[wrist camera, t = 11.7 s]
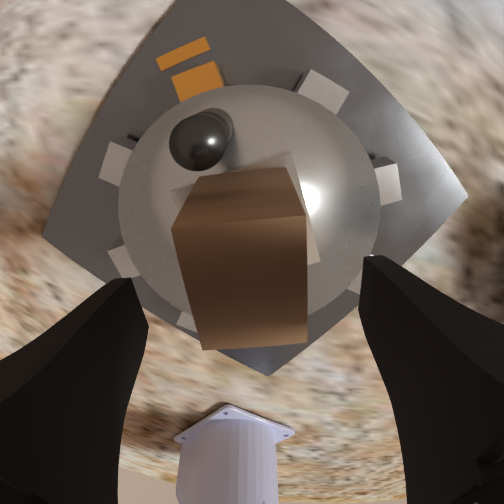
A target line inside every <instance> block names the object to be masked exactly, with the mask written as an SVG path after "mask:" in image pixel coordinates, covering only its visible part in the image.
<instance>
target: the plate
mask: <svg viewBox="0 0 504 504" xmlns="http://www.w3.org/2000/svg"><path fill="white" fill-rule="evenodd" d="M212 61H215V62H216V63H217V64H218V66H219V69H220V72H221V74H222V77H223V80H224V83H225V86H226V87H227V86H234V85H265V86H271V87H278V88H282V89H286V90H289V91H292V92H293V91H294V90H295V88H296V86H297V84H298V83H299V81H300V79H301V77H302V76H303V74H304V72H305V71H306V70H309V69H312V70H314V71H316V72H317V73H319V74H321V75H323V76H324V77H326V78H328V79H329V80H331V81H333V82H334V83H336V84H338V85H339V86H341V87H343V88H344V89H346V90H347V91H349V94H348V96H347V97H346V99H345V101H344V102H343V104H342V106H341V108H340V109H339V111H338V113H337V114H336V116H338V117H339V118H340V119H341V120H342V121H343V122H344V123H345V124H346V125H347V126H348V127H349V128H350V129H351V130H352V132H353V133H354V134H355V135H356V137H357V138H358V139H359V140H360V142H361V144H362V145H363V147H364V149H365V150H366V152H367V154H368V156H369V158H370V160H371V159H375V158H379V157H383V156H386V157H387V158H389V159H391V160H392V161H394V162H396V163H397V167H398V173H399V180H400V187H401V195H402V200H400V201H396V202H393V203H389V204H386V205H382V206H381V208H380V222H379V228H378V233H377V237H376V240H375V243H374V246H373V249H372V251H371V253H370V254H371V255H373V256H375V255H383V256H385V257H387V258H389V259H391V260H392V261H394V262H395V263H397V264H399V265H400V266H402V265H403V264H404V263H405V262H406V261H407V260H408V259H409V258H410V257H411V256H412V255H413V254H414V253H415V252H416V251H417V250H418V249H419V248H420V247H421V246H422V245H423V244H424V243H425V242H426V241H427V240H428V239H429V238H430V237H431V236H432V235H433V234H434V233H435V232H436V231H437V230H438V229H439V228H440V227H441V226H442V225H443V223H444V222H445V221H446V220H447V219H448V218H449V217H450V216H451V215H452V214H453V213H454V212H455V211H456V209H457V208H458V207H459V206H460V205H461V204H462V203H463V202H464V201H465V199H466V198H467V197H468V194H467V193H466V191H465V189H464V188H463V186H462V185H461V183H460V182H459V180H458V179H457V177H456V176H455V174H454V173H453V171H452V170H451V168H450V167H449V165H448V164H447V163H446V161H445V160H444V158H443V157H442V156H441V154H440V153H439V152H438V150H437V149H436V148H435V146H434V145H433V144H432V142H431V141H430V140H429V138H428V137H427V136H426V134H425V133H424V132H423V131H422V129H421V128H420V127H419V126H418V125H417V123H416V122H415V121H414V120H413V118H412V117H411V116H410V115H409V114H408V113H407V111H406V110H405V109H404V108H403V107H402V106H401V104H400V103H399V102H398V101H397V100H396V99H395V98H394V97H393V96H392V94H391V93H390V92H389V91H388V90H387V89H386V88H385V87H384V86H383V85H382V84H381V83H380V82H379V81H378V80H377V79H376V77H375V76H374V75H373V74H372V73H371V72H370V71H369V70H368V69H367V68H366V67H365V66H363V65H362V64H361V63H360V62H359V61H358V60H357V59H356V58H355V57H354V56H353V55H352V54H351V53H350V52H349V51H348V50H346V49H345V48H344V47H343V46H342V45H341V44H340V43H339V42H338V41H336V40H335V39H334V38H333V37H332V36H331V35H329V34H328V33H327V32H326V31H325V30H323V29H322V28H321V27H320V26H319V25H317V24H316V23H315V22H314V21H312V20H311V19H310V18H309V17H307V16H306V15H305V14H303V13H302V12H301V11H300V10H298V9H297V8H295V7H294V6H293V5H291V4H290V3H289V2H287V1H286V0H180V1H179V2H178V3H177V4H176V5H175V6H174V8H173V9H172V10H171V11H170V12H169V13H168V15H167V16H166V17H165V18H164V19H163V21H162V22H161V23H160V24H159V26H158V27H157V28H156V29H155V31H154V32H153V33H152V34H151V36H150V37H149V38H148V40H147V41H146V42H145V43H144V45H143V46H142V47H141V49H140V50H139V52H138V53H137V54H136V56H135V57H134V59H133V60H132V61H131V63H130V64H129V66H128V67H127V69H126V70H125V71H124V73H123V74H122V76H121V77H120V79H119V80H118V82H117V84H116V85H115V87H114V88H113V90H112V91H111V93H110V95H109V96H108V98H107V99H106V101H105V103H104V104H103V106H102V108H101V109H100V111H99V113H98V115H97V116H96V118H95V120H94V122H93V123H92V125H91V127H90V129H89V131H88V132H87V134H86V136H85V138H84V140H83V142H82V144H81V146H80V148H79V150H78V152H77V154H76V156H75V158H74V160H73V162H72V164H71V166H70V168H69V170H68V172H67V175H66V177H65V179H64V181H63V183H62V186H61V188H60V190H59V193H58V195H57V197H56V200H55V202H54V205H53V207H52V210H51V212H50V215H49V217H48V220H47V223H46V225H45V228H44V231H43V234H42V236H41V237H43V238H44V239H45V240H47V241H48V242H49V243H50V244H52V245H53V246H54V247H56V248H57V249H58V250H60V251H61V252H62V253H64V254H65V255H66V256H68V257H69V258H71V259H72V260H73V261H75V262H76V263H78V264H79V265H80V266H82V267H83V268H85V269H86V270H87V271H89V272H90V273H92V274H93V275H95V276H96V277H97V278H99V279H100V280H102V281H103V282H105V283H106V284H107V283H108V282H110V281H111V280H113V279H115V278H122V277H121V275H120V273H119V271H118V270H117V268H116V266H115V264H114V263H113V261H112V259H111V257H110V256H109V254H108V252H107V251H108V249H109V248H110V247H111V245H112V244H113V243H114V242H115V240H116V239H117V238H119V237H122V234H121V229H120V224H119V217H118V198H119V189H120V187H118V186H116V185H114V184H112V183H109V182H107V181H105V180H103V179H100V178H99V174H100V171H101V168H102V164H103V161H104V158H105V155H106V152H107V149H108V146H109V143H110V141H112V140H114V139H116V138H118V137H121V136H123V137H126V138H128V139H131V140H133V141H136V142H138V141H139V140H140V138H141V137H142V136H143V135H144V133H145V132H146V131H147V130H148V129H149V127H150V126H151V125H152V124H153V123H154V122H155V121H156V120H158V119H159V118H160V117H161V116H162V115H163V114H164V113H166V112H167V111H168V110H170V109H171V108H173V107H175V106H176V105H178V104H179V103H181V102H180V100H179V97H178V94H177V92H176V89H175V86H174V84H173V81H172V78H171V77H173V76H175V75H177V74H180V73H182V72H185V71H187V70H190V69H193V68H195V67H198V66H201V65H203V64H206V63H209V62H212ZM131 279H132V281H133V284H134V287H135V290H136V293H137V296H138V299H139V301H140V304H141V306H142V307H143V308H145V309H146V310H148V311H150V312H151V313H153V314H155V315H156V316H158V317H160V318H161V319H163V320H164V321H166V322H168V323H170V324H171V325H173V326H175V327H176V328H178V329H180V330H181V331H183V332H185V333H187V334H188V335H190V336H192V337H194V338H195V339H197V340H199V336H198V333H197V332H194V331H192V330H189V329H187V328H184V327H181V326H179V325H176V323H177V319H178V315H179V312H180V309H178V308H177V307H175V306H173V305H172V304H170V303H169V302H168V301H166V300H165V299H164V298H162V297H161V296H160V295H159V294H158V293H157V292H156V291H155V290H154V289H153V288H152V287H150V286H149V284H148V283H147V282H146V281H145V279H144V278H143V277H142V276H141V275H140V276H136V277H133V278H131ZM359 298H360V294H357V293H355V292H353V291H351V290H349V289H345V290H344V291H343V292H342V293H341V294H340V295H339V296H338V297H337V298H335V299H334V300H333V301H331V302H330V303H328V304H327V305H326V306H324V307H322V308H321V309H319V310H317V311H315V312H314V313H312V314H310V315H308V328H307V343H298V344H288V345H278V346H266V347H253V348H238V349H220V350H217V351H219V352H221V353H223V354H225V355H227V356H228V357H230V358H232V359H234V360H236V361H238V362H240V363H242V364H244V365H246V366H248V367H250V368H252V369H254V370H256V371H258V372H260V373H262V374H264V375H266V376H270V375H271V374H272V373H274V372H275V371H277V370H278V369H279V368H281V367H282V366H283V365H285V364H286V363H287V362H289V361H290V360H291V359H293V358H294V357H295V356H297V355H298V354H299V353H300V352H302V351H303V350H304V349H306V348H307V347H308V346H309V345H311V344H312V343H313V342H315V341H316V340H317V339H318V338H320V337H321V336H322V335H323V334H325V333H326V332H327V331H328V330H329V329H331V328H332V327H333V326H334V325H335V324H337V323H338V322H339V321H340V320H341V319H343V318H344V317H345V316H346V315H347V314H349V313H350V312H351V311H352V310H353V309H354V308H356V307H357V306H358V305H359ZM199 341H200V340H199Z"/></svg>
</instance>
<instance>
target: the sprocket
mask: <svg viewBox="0 0 504 504" xmlns="http://www.w3.org/2000/svg"><path fill="white" fill-rule="evenodd" d="M171 78H172V81H173V84H174V86H175V89H176V92H177V94H178V97H179V100H180V102H181V103H179V104H178V105H176V106H175V107H173V108H171V109H170V110H168V111H167V112H166V113H164V114H163V115H162V116H161V117H160V118H159V119H158V120H156V121H155V122H154V123H153V124H152V125H151V126H150V127H149V129H148V130H147V131H146V132H145V133H144V135H143V136H142V137H141V138H140V140H139V141H138V142H136V141H133V140H131V139H128V138H126V137H123V136H121V137H118V138H116V139H114V140H112V141H110V143H109V146H108V149H107V152H106V155H105V158H104V161H103V164H102V168H101V171H100V174H99V178H100V179H103V180H105V181H107V182H109V183H112V184H114V185H116V186H118V187H120V189H119V198H118V217H119V224H120V229H121V234H122V237H119V238H117V239H116V240H115V242H114V243H113V244H112V245H111V247H110V248H109V249H108V251H107V252H108V254H109V256H110V257H111V259H112V261H113V263H114V264H115V266H116V268H117V270H118V271H119V273H120V275H121V277H122V278H128V277H131V278H133V277H136V276H140V275H141V276H142V277H143V278H144V279H145V281H146V282H147V283H148V284H149V286H150V287H152V288H153V289H154V290H155V291H156V292H157V293H158V294H159V295H160V296H161V297H162V298H164V299H165V300H166V301H168V302H169V303H170V304H172V305H173V306H175V307H177V308H178V309H180V312H179V315H178V319H177V323H176V325H179V326H181V327H184V328H187V329H189V330H192V331H194V332H197V329H196V326H195V322H194V319H193V315H192V312H191V308H190V304H189V301H188V297H187V293H186V289H185V286H184V282H183V278H182V274H181V270H180V266H179V262H178V258H177V254H176V250H175V246H174V241H173V237H172V233H171V227H172V225H173V223H174V221H175V219H176V217H177V215H178V214H179V212H180V210H181V208H182V206H183V204H184V202H185V201H186V199H187V197H188V195H189V193H190V192H191V190H192V188H193V186H194V184H195V183H196V181H197V179H198V177H199V176H206V175H214V174H223V173H232V172H241V171H251V170H261V169H272V168H284V167H286V169H287V171H288V173H289V175H290V178H291V180H292V182H293V185H294V187H295V190H296V192H297V194H298V197H299V199H300V201H301V204H302V206H303V209H304V211H305V214H306V226H307V274H308V315H310V314H312V313H314V312H315V311H317V310H319V309H321V308H322V307H324V306H326V305H327V304H328V303H330V302H331V301H333V300H334V299H335V298H337V297H338V296H339V295H340V294H341V293H342V292H343V291H344V290H345V289H349V290H351V291H353V292H355V293H357V294H360V289H361V279H362V268H363V257H365V256H373V255H371V254H370V253H371V251H372V249H373V246H374V243H375V240H376V237H377V233H378V228H379V222H380V208H381V206H382V205H386V204H389V203H393V202H396V201H400V200H402V195H401V187H400V180H399V173H398V167H397V163H396V162H394V161H392V160H391V159H389V158H387V157H386V156H383V157H379V158H375V159H371V160H370V158H369V156H368V154H367V152H366V150H365V149H364V147H363V145H362V144H361V142H360V140H359V139H358V138H357V137H356V135H355V134H354V133H353V132H352V130H351V129H350V128H349V127H348V126H347V125H346V124H345V123H344V122H343V121H342V120H341V119H340V118H339V117H338V116H336V114H337V113H338V111H339V109H340V108H341V106H342V104H343V102H344V101H345V99H346V97H347V96H348V94H349V91H347V90H346V89H344V88H343V87H341V86H339V85H338V84H336V83H334V82H333V81H331V80H329V79H328V78H326V77H324V76H323V75H321V74H319V73H317V72H316V71H314V70H312V69H309V70H306V71H305V72H304V74H303V76H302V77H301V79H300V81H299V83H298V84H297V86H296V88H295V90H294V91H293V92H292V91H289V90H286V89H282V88H278V87H271V86H265V85H234V86H227V87H226V86H225V83H224V80H223V77H222V74H221V72H220V69H219V66H218V64H217V63H216V62H215V61H212V62H209V63H206V64H203V65H201V66H198V67H195V68H193V69H190V70H187V71H185V72H182V73H180V74H177V75H175V76H173V77H171Z"/></svg>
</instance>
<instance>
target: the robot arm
mask: <svg viewBox="0 0 504 504" xmlns="http://www.w3.org/2000/svg"><path fill="white" fill-rule="evenodd" d="M358 311H359V315H360V319H361V323H362V326H363V330H364V333H365V337H366V339H367V342H368V344H369V347H370V349H371V352H372V354H373V356H374V359H375V361H376V364H377V366H378V369H379V371H380V374H381V376H382V379H383V381H384V384H385V386H386V389H387V392H388V394H389V398H390V401H391V404H392V408H393V412H394V416H395V420H396V425H397V429H398V434H399V440H400V445H401V451H402V457H403V464H404V472H405V481H406V494H407V504H504V324H501V323H499V322H497V321H494V320H492V319H490V318H488V317H486V316H484V315H482V314H480V313H478V312H476V311H474V310H472V309H470V308H468V307H466V306H464V305H462V304H460V303H459V302H457V301H455V300H454V299H452V298H450V297H449V296H447V295H445V294H443V293H442V292H440V291H439V290H437V289H435V288H434V287H432V286H431V285H429V284H428V283H426V282H424V281H423V280H421V279H420V278H418V277H417V276H415V275H414V274H412V273H411V272H409V271H408V270H406V269H405V268H403V267H402V266H400V265H399V264H397V263H395V262H394V261H392V260H391V259H389V258H387V257H385V256H383V255H375V256H365V257H363V268H362V279H361V289H360V298H359V306H358ZM148 328H149V325H148V323H147V320H146V318H145V315H144V312H143V310H142V307H141V304H140V301H139V299H138V296H137V293H136V290H135V287H134V284H133V281H132V279H131V277H128V278H115V279H113V280H111V281H110V282H108V283H107V284H105V285H104V286H103V287H101V288H100V289H99V290H97V291H96V292H95V293H94V294H92V295H91V296H90V297H88V298H87V299H86V300H85V301H84V302H82V303H81V304H80V305H79V306H77V307H76V308H75V309H74V310H72V311H71V312H70V313H69V314H67V315H66V316H65V317H64V318H62V319H61V320H60V321H58V322H57V323H56V324H55V325H53V326H52V327H51V328H49V329H48V330H47V331H46V332H44V333H43V334H41V335H40V336H39V337H37V338H36V339H34V340H33V341H31V342H30V343H28V344H27V345H25V346H24V347H22V348H21V349H19V350H18V351H16V352H14V353H12V354H11V355H9V356H7V357H5V358H4V359H2V360H0V504H118V496H117V495H118V494H117V493H118V492H117V491H118V489H117V488H118V465H119V454H120V444H121V437H122V430H123V424H124V418H125V414H126V410H127V406H128V403H129V400H130V396H131V393H132V390H133V387H134V383H135V380H136V377H137V374H138V371H139V368H140V364H141V361H142V358H143V355H144V351H145V346H146V340H147V334H148ZM294 434H295V430H294V429H293V428H290V427H287V426H284V425H281V424H278V423H276V422H273V421H270V420H268V419H265V418H262V417H260V416H257V415H255V414H252V413H250V412H247V411H245V410H242V409H240V408H237V407H235V406H233V405H224V406H223V407H221V408H220V409H218V410H217V411H215V412H214V413H212V414H210V415H209V416H207V417H206V418H204V419H203V420H201V421H199V422H198V423H196V424H195V425H193V426H191V427H190V428H188V429H186V430H185V431H183V432H182V433H180V434H178V435H177V436H175V437H174V440H175V441H176V442H178V443H181V444H182V446H181V453H180V461H179V468H178V475H177V483H176V496H177V500H178V502H179V504H279V499H278V479H277V459H276V443H278V442H280V441H282V440H284V439H286V438H288V437H290V436H292V435H294Z"/></svg>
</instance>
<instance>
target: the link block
mask: <svg viewBox="0 0 504 504" xmlns="http://www.w3.org/2000/svg"><path fill="white" fill-rule="evenodd" d="M171 233H172V237H173V241H174V246H175V250H176V254H177V258H178V262H179V266H180V270H181V274H182V278H183V282H184V286H185V289H186V293H187V297H188V301H189V304H190V308H191V312H192V315H193V319H194V322H195V326H196V329H197V333H198V336H199V340H200V343H201V346H202V350H220V349H238V348H253V347H266V346H278V345H288V344H298V343H307V328H308V274H307V226H306V214H305V211H304V209H303V206H302V204H301V201H300V199H299V197H298V194H297V192H296V190H295V187H294V185H293V182H292V180H291V178H290V175H289V173H288V171H287V169H286V167H284V168H272V169H261V170H251V171H241V172H232V173H223V174H214V175H206V176H199V177H198V179H197V181H196V183H195V184H194V186H193V188H192V190H191V192H190V193H189V195H188V197H187V199H186V201H185V202H184V204H183V206H182V208H181V210H180V212H179V214H178V215H177V217H176V219H175V221H174V223H173V225H172V227H171Z"/></svg>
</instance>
